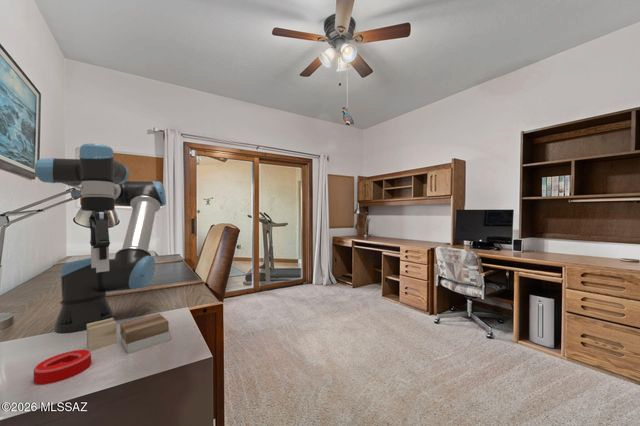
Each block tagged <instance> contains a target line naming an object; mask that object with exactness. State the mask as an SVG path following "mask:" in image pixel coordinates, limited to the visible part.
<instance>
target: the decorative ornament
mask: <svg viewBox="0 0 640 426" xmlns="http://www.w3.org/2000/svg"><path fill="white" fill-rule="evenodd" d="M90 365H92V352H91V351H89V349H77V350H71V351H67V352H63V353H59V354H57V355H54V356H52V357H49V358H47V359H44V360H43V361H41V362H39V363H38V364H37V365H35V366H34V369H33V384H35V385H38V386H41V385H50V384H55V383H58V382H61V381H64V380H68V379H71V378H73V377H75V376H77V375H79V374H82V373H83V372H84V370H85V371H86V370H88V369H90V367H91V366H90Z"/></svg>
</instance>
